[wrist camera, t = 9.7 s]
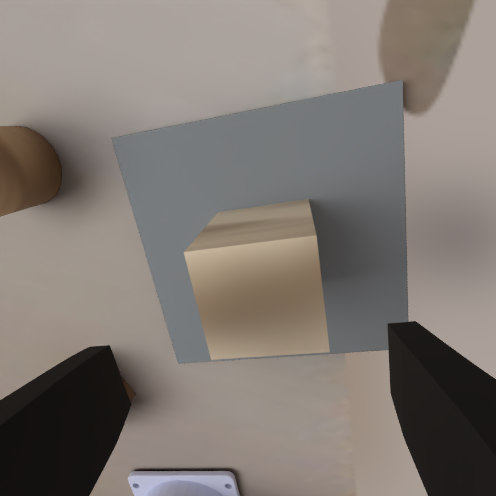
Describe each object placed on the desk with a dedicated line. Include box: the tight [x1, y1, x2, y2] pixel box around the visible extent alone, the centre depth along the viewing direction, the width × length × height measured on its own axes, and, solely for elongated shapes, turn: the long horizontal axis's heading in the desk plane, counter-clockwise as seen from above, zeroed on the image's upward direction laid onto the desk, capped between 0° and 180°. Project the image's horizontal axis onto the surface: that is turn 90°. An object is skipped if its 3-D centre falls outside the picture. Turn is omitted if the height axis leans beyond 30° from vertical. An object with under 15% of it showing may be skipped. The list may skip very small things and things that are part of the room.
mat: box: [111, 80, 408, 364], centre depth 17 cm, size 13×13×1 cm
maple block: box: [184, 199, 330, 360], centre depth 14 cm, size 4×4×6 cm
